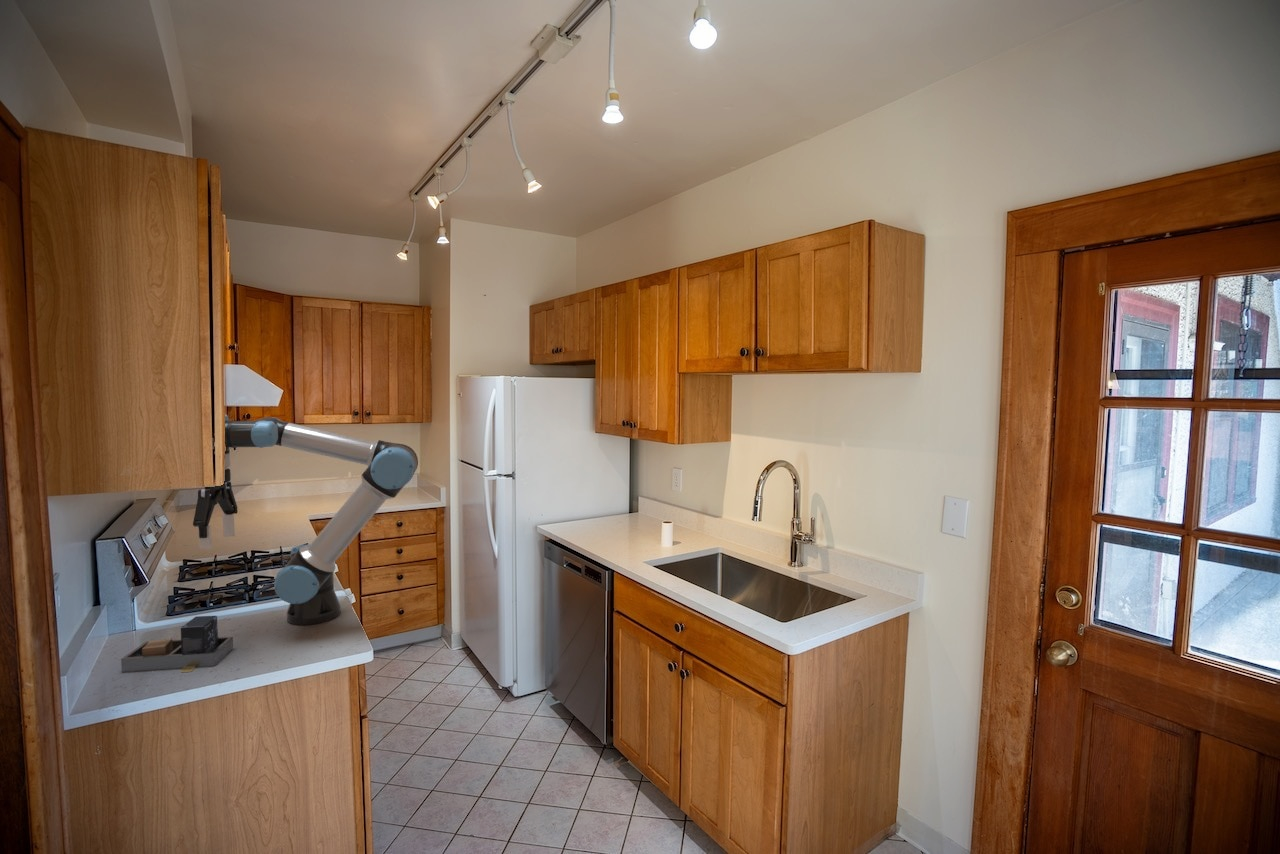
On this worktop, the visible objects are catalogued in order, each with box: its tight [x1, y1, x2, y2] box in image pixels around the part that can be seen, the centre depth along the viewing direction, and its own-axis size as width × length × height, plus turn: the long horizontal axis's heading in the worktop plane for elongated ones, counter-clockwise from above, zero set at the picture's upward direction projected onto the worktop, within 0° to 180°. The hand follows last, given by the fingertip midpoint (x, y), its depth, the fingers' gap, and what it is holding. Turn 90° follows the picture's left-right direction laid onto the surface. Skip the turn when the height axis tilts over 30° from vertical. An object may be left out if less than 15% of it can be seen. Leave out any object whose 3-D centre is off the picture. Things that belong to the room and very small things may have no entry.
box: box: [180, 615, 219, 654], centre depth 167 cm, size 8×6×11 cm
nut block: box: [142, 638, 173, 656], centre depth 165 cm, size 5×5×5 cm
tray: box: [120, 636, 234, 673], centre depth 165 cm, size 13×22×4 cm, turn 100°
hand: (217, 542), depth 176 cm, fingers open, 13 cm apart
